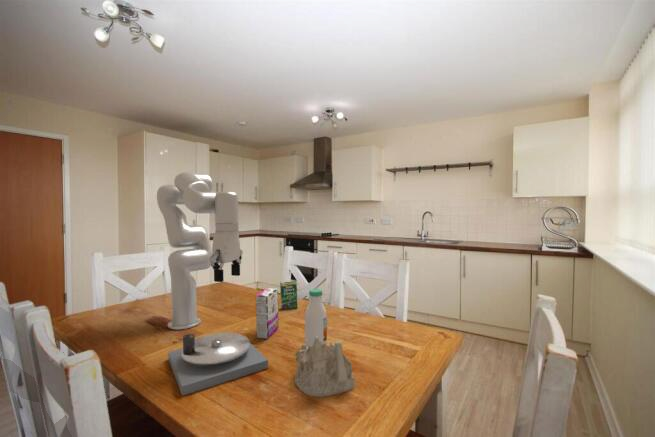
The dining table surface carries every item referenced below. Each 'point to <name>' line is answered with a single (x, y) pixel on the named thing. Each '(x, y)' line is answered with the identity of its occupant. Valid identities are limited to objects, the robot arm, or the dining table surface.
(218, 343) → the handwheel
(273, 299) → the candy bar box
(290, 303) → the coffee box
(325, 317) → the milk bottle
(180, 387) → the grey base block
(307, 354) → the grey rough lump
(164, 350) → the dining table surface
